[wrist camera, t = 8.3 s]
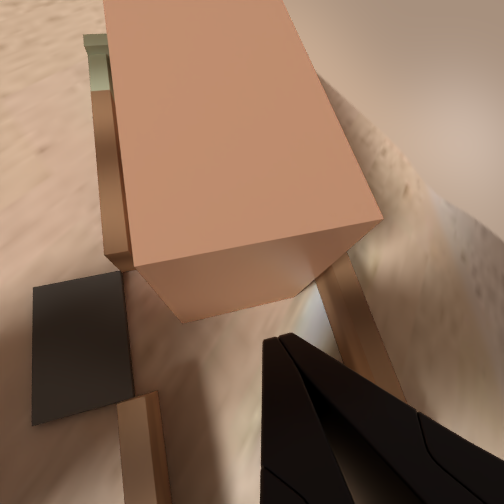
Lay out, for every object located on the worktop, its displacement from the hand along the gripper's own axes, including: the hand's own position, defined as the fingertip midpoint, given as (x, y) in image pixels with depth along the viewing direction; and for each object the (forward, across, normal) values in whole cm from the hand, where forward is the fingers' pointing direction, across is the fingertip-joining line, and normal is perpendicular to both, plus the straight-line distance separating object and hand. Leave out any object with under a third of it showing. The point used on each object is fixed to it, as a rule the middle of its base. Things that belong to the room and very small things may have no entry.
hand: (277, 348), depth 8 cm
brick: (+12, 0, -2) cm, 12 cm away
